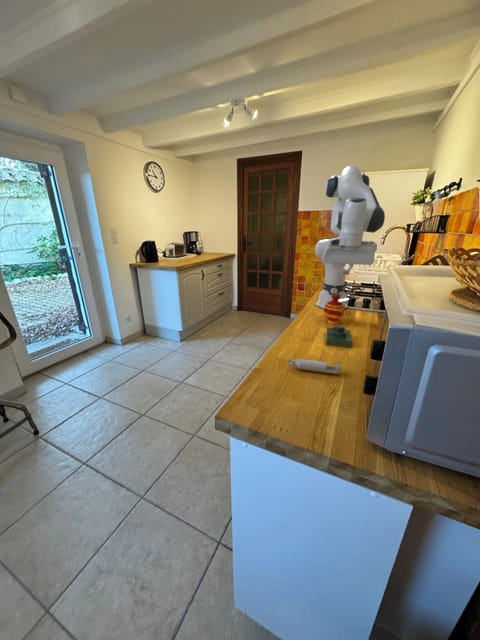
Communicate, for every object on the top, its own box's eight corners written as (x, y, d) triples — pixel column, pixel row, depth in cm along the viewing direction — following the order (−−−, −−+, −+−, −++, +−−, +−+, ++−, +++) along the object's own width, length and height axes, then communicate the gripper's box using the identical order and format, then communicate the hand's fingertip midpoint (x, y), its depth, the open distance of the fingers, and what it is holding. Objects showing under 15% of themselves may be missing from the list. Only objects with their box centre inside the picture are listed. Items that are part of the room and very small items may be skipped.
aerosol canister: (339, 370, 89) (342, 353, 87) (341, 377, 85) (344, 360, 82) (288, 363, 93) (289, 347, 91) (287, 370, 89) (288, 354, 87)
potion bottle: (340, 318, 134) (344, 291, 129) (345, 326, 125) (350, 297, 119) (319, 318, 135) (323, 291, 130) (323, 325, 126) (327, 296, 120)
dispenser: (325, 333, 118) (327, 323, 116) (349, 335, 115) (350, 325, 113) (325, 344, 107) (327, 334, 105) (351, 347, 104) (353, 337, 103)
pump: (334, 328, 112) (335, 324, 111) (343, 329, 110) (344, 325, 110) (335, 331, 108) (335, 327, 108) (343, 332, 107) (344, 328, 107)
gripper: (376, 240, 104) (370, 274, 110) (324, 240, 110) (321, 271, 115) (379, 242, 99) (372, 277, 104) (324, 241, 105) (321, 274, 110)
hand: (345, 274), depth 110 cm, fingers closed
